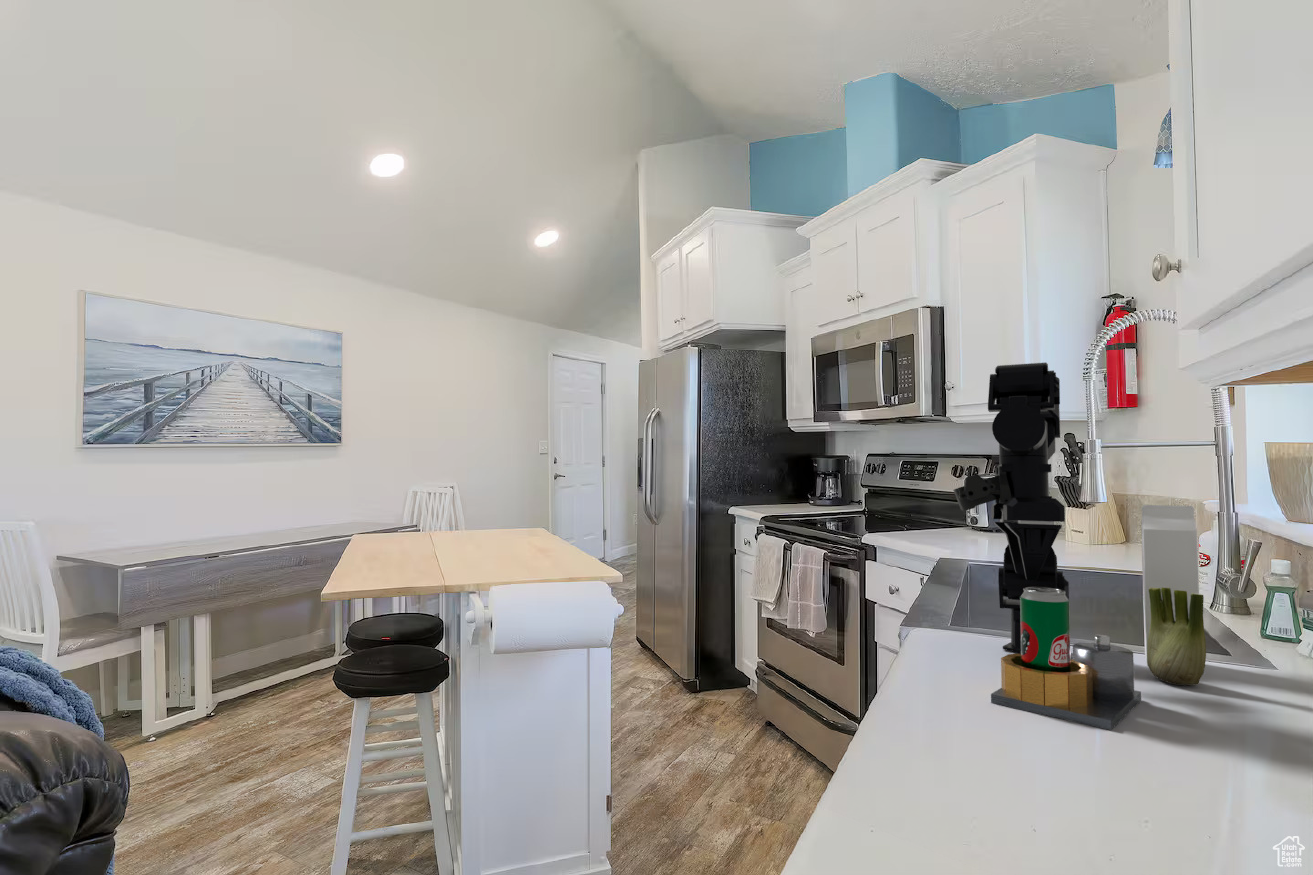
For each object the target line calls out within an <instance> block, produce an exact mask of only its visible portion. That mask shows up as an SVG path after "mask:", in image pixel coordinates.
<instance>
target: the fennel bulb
mask: <svg viewBox="0 0 1313 875" xmlns="http://www.w3.org/2000/svg"><path fill="white" fill-rule="evenodd" d="M1161 592H1162V596H1161ZM1149 597H1150V608H1151V624H1150V630H1149V636H1148V643H1147V662H1146V664H1147V663H1148V669H1149V671H1150V672H1151V674H1152V675H1153V676H1155V678H1157V679H1158V680H1160V681H1163V682H1166V683H1170V684H1173V685H1176V686H1195V685H1196V686H1197V685H1199V684H1200V681H1201V679H1202V677H1203V675H1204V672H1205V669H1206V668H1205V667H1206V658H1207V644H1206V643H1207V642H1206V634H1205V626H1204V625H1205V624H1204V600H1205V599H1204V594H1201V593H1199V594H1195V593H1192V594H1191V599H1190V610H1189V615H1188V602H1187V591H1181V590H1174V601H1175V604H1174V605H1175V617H1176V621H1174V615H1173V607H1172V606H1173V605H1172V596H1171V589H1170V588H1163V587H1162V588H1161V589H1160V588H1150V589H1149Z"/></svg>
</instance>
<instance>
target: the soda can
mask: <svg viewBox="0 0 1313 875" xmlns="http://www.w3.org/2000/svg"><path fill="white" fill-rule="evenodd" d="M1023 590H1024V592H1023V594H1022V595H1021V597H1020V624H1021V666H1022V667H1025V668H1029V669H1034V670H1040V671H1046V672H1060V673H1065V672H1071V659H1072V658H1071V621H1070V620H1071V616H1070V614H1071V613H1070V599H1069V600H1068V598H1067V597H1066V595H1065V593H1066V592H1065V591H1064V590H1061V589H1056V588H1048V587H1026V588H1024V589H1023Z"/></svg>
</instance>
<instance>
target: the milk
mask: <svg viewBox="0 0 1313 875" xmlns="http://www.w3.org/2000/svg"><path fill="white" fill-rule="evenodd" d="M1140 526H1141V527H1140V532H1141V562H1142V563H1141V565H1142V566H1141V568H1142V570H1141V571H1142V594H1143V595H1142V598H1143V599H1142V600H1143V630H1144V631H1143V632H1144V658H1145V661H1146V665H1147V666H1148V663H1147V643H1148V636H1149V630H1150V624H1151V608H1150V597H1149V589H1150V588H1160V589H1161V588H1162V587H1163V588H1170V589H1171V596H1172V605H1173V606H1172V607H1173V615H1174V621H1176V617H1175V605H1174V604H1175V601H1174V590H1181V591H1187V602H1188V615H1189V610H1190V599H1191V594H1192V593H1195V594H1200V588H1199V587H1200V585H1199V555H1198V554H1199V553H1198V552H1199V550H1198V548H1199V547H1198V529H1197V524H1196V519H1195V509H1194V506H1192V505H1169V504H1168V505H1166V504H1165V505H1164V504H1162V505H1161V504H1144V505H1142V506H1141V524H1140ZM1161 596H1162V592H1161Z"/></svg>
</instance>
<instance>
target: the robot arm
mask: <svg viewBox="0 0 1313 875" xmlns="http://www.w3.org/2000/svg"><path fill="white" fill-rule="evenodd" d="M994 368H995V369H994V371H995V372H994V373H991V374H989V384H988V398H987V400H988V401H987V411H988V412H989V413H997V414H996V415H995V417H994V419H993V422H992V426H991V430H992V434H993V437H994V438H995V440H996V442H997V443H998V444H999V445H998V446H999V447H998V452H999V458H998V459H999V462H998V463H999V464H998V465H997V467H995V470H994V476H992V477H988V478H985V479H984V478H983V477H981V476H980V475H979V474H978V473H976V474H973V475H970V476H967V477H965V478H964V485H963V486H960V487H957V488H954V489H953V493H954V496H955V498H956V500H957V503H958V505H959V508H960V511H961V512H966V511H969V510H972V509H975V508H976V507H977V506H980V505H984V504H986V503H990V502H992V501H994V503H993V504H992V505H991V506H990V507H991V508H990V510H991V512H990V513H991V514H990V515H991V520H999V521H993V524H994V525H995V527H997V528H999V529H1000V531H1001V532H1003V533H1004V534H1005V535H1006V539H1007V546H1006V547H1005V549H1004V552H1003V566H1002V567H998V575H997V576H998V596H999V597H998V598H999V601H998V602H999V608H1000V609H1009V610H1010V642H1009V643H1006V644H1004V645H1002V650H1004V651H1010V652H1015V653H1021V624H1020V597H1021V595H1022V594H1023V592H1024V590H1023V589H1024V588H1026V587H1048V588H1056V589H1061V590H1064V591H1065V592H1066V593H1065V595H1066V597H1067V598H1068V600H1069V601H1070V587H1069V584H1070V582H1069V581H1068V580H1067V578H1065V575H1064V572H1063V571H1062V570H1061V571H1060V570H1058V556H1057V555H1056V553H1055V550H1054V548H1053V547H1052V546H1053V545H1054V542H1055V541H1056V538H1057V536H1058V534H1059V532H1060V530H1062V527H1063V526H1062V525H1063V524H1055V522H1056V523H1057V522H1059V523H1060V522H1062V523H1064V522H1066V514H1065V513H1066V511H1065V505H1064V504H1062V502H1060V501H1059V500H1058V499H1057V497H1056V498H1055V497H1054V498H1053V496H1052V495H1049V494H1050V493H1049V492H1050V491H1049V490H1050V489H1049V485H1050V484H1049V473H1052V464H1051V463H1049V460H1050V459H1051V458H1052V456H1053V455H1054V454H1055V453H1056V439H1060V438H1061V420H1060V419H1061V418H1060V417H1061V414H1060V413H1061V412H1060V404H1061V399H1060V398H1061V395H1060V394H1061V390H1060V389H1061V385H1060V378H1059V377H1057V373H1056V372H1055V370H1049V363H1047V362H1033V363H1032V362H1031V363H1017V364H1002V365H997V366H996V367H994Z"/></svg>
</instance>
